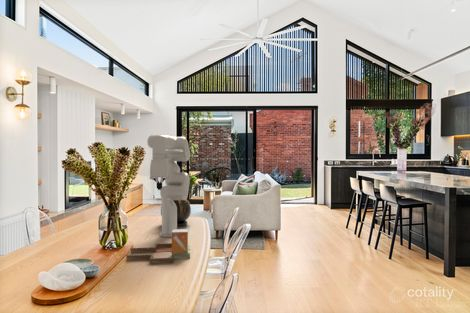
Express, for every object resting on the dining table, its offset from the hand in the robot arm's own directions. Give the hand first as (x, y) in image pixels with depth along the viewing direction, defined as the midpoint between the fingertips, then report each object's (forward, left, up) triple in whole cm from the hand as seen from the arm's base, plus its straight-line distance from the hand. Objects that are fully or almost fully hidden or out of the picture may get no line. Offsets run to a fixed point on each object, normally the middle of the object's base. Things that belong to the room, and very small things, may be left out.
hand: (159, 189), depth 189 cm
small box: (+18, +12, -32) cm, 39 cm away
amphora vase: (-53, +7, -32) cm, 62 cm away
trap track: (+17, +1, -32) cm, 36 cm away
